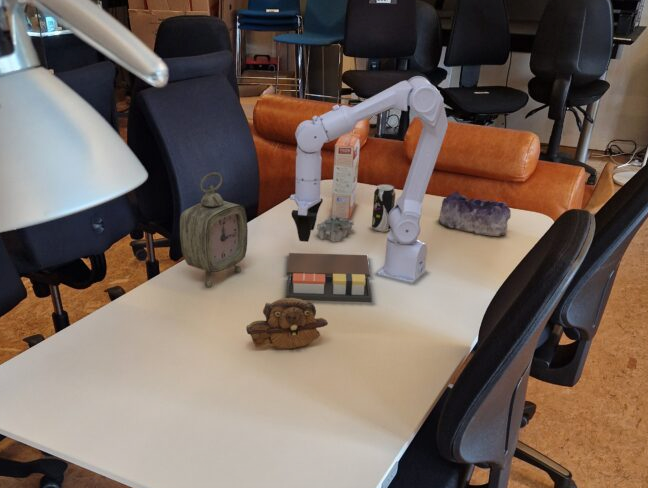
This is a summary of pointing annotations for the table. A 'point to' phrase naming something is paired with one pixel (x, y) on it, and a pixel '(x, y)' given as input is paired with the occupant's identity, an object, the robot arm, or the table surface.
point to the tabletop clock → (213, 233)
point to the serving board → (328, 264)
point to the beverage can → (382, 207)
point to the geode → (474, 215)
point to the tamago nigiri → (348, 284)
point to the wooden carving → (286, 324)
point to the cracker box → (345, 175)
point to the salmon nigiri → (308, 283)
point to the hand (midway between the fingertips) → (306, 235)
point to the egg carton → (334, 228)
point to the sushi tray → (329, 293)
